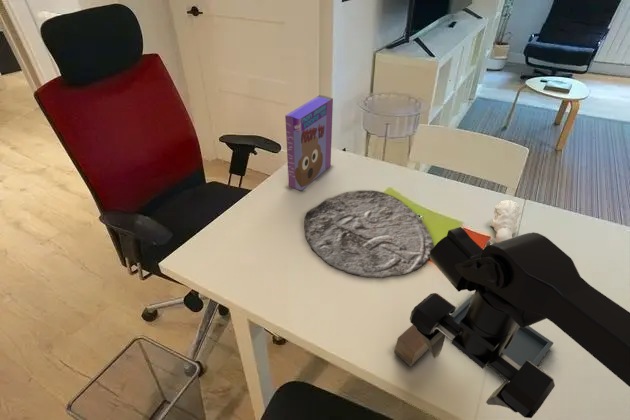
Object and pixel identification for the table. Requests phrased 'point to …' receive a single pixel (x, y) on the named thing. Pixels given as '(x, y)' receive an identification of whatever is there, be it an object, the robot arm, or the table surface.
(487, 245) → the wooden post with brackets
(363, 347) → the table surface
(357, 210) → the ancient coin
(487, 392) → the table surface
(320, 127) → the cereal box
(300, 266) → the table surface
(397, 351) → the brown rectangular block
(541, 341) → the tray
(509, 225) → the white plaster bust
